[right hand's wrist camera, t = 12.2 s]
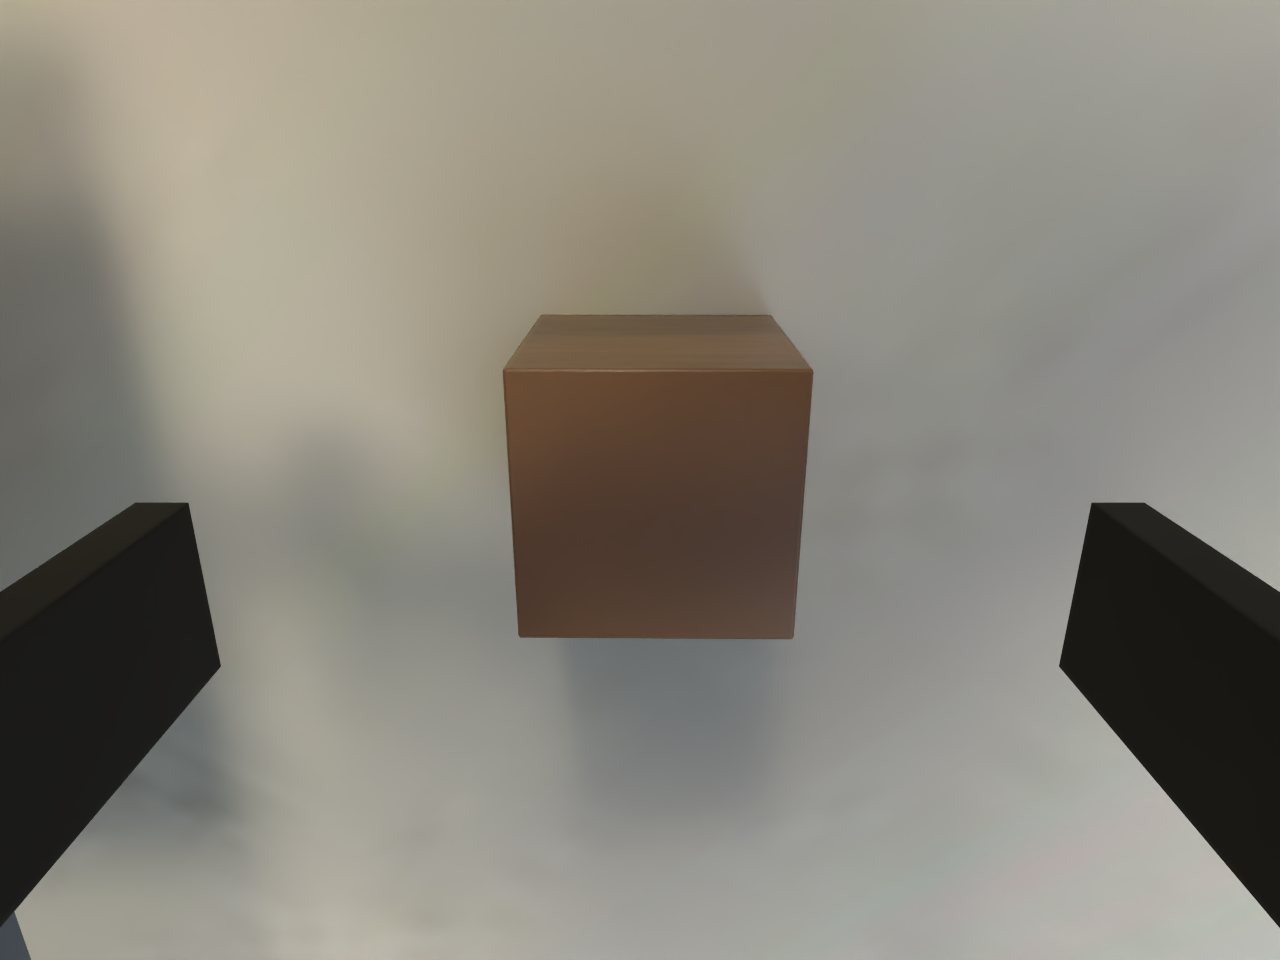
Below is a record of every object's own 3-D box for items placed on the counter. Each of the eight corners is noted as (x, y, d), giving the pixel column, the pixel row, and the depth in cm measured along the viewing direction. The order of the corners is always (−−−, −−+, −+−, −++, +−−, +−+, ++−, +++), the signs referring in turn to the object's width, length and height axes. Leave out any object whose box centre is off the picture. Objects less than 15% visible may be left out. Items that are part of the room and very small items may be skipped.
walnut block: (539, 314, 18) (502, 368, 14) (772, 315, 18) (814, 369, 13) (549, 526, 20) (518, 638, 15) (760, 527, 20) (793, 640, 15)
